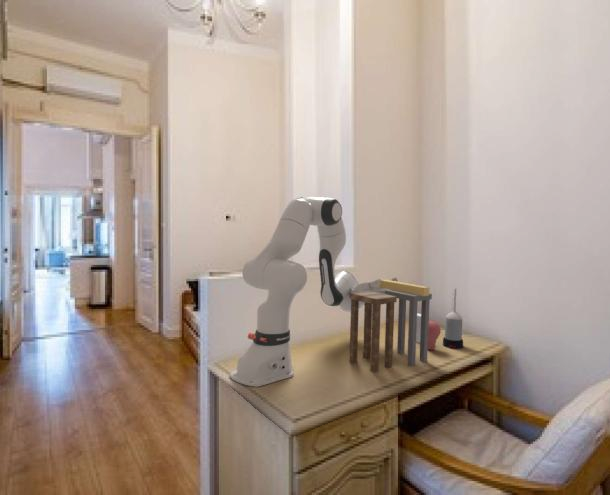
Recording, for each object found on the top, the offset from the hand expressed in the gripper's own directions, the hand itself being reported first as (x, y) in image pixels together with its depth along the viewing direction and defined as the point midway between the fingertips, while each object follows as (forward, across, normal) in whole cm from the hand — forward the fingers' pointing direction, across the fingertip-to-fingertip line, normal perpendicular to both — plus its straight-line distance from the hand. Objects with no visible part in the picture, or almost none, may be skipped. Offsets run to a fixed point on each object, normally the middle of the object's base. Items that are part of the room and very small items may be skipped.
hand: (388, 280), depth 157 cm
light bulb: (-7, +18, +30) cm, 35 cm away
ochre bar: (+5, 0, +7) cm, 8 cm away
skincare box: (-17, +23, +24) cm, 37 cm away
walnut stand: (-8, -16, +29) cm, 34 cm away
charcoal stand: (-6, 0, +30) cm, 31 cm away
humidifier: (-6, +30, +31) cm, 44 cm away
